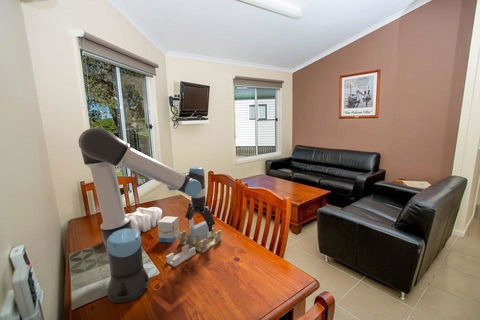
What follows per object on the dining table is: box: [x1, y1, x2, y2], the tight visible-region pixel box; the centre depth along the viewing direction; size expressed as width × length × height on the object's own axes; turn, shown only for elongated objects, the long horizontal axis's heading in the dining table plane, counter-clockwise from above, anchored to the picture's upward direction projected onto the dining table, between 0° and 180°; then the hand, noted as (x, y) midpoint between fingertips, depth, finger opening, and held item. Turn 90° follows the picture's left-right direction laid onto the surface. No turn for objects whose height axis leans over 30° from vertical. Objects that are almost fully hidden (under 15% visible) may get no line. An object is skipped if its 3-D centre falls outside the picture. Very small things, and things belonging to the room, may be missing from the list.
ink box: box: [157, 215, 180, 243], centre depth 130 cm, size 9×8×12 cm
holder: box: [165, 244, 197, 268], centre depth 111 cm, size 13×6×3 cm, turn 144°
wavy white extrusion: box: [125, 206, 163, 236], centre depth 143 cm, size 35×16×10 cm, turn 149°
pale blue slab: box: [189, 220, 207, 244], centre depth 125 cm, size 11×3×9 cm, turn 144°
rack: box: [178, 227, 222, 254], centre depth 125 cm, size 15×17×6 cm
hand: (200, 233), depth 125 cm, fingers open, 13 cm apart
